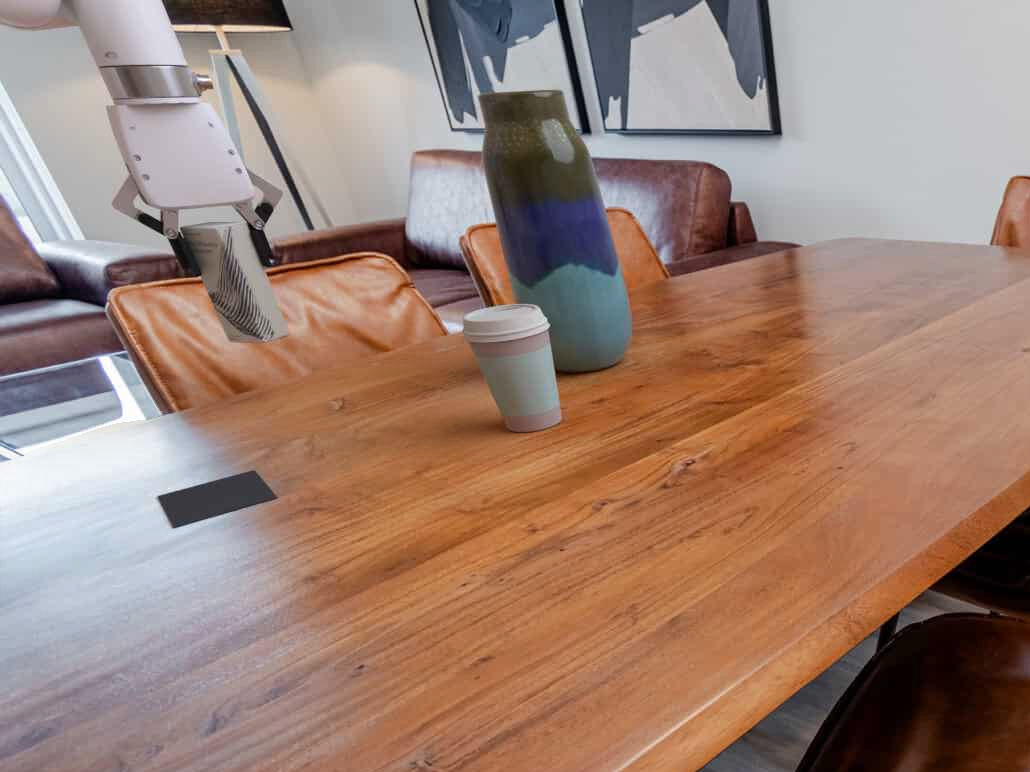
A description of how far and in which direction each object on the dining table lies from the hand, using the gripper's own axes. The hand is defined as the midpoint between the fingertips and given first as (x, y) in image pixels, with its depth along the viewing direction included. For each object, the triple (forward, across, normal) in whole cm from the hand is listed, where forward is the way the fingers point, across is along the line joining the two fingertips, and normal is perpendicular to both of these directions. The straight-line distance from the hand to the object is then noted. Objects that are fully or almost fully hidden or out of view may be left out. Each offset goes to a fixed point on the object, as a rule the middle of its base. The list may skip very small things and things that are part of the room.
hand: (231, 269), depth 95 cm
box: (+8, 0, 0) cm, 8 cm away
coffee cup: (+15, -17, +35) cm, 42 cm away
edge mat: (+16, +12, +30) cm, 36 cm away
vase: (+15, -32, +18) cm, 39 cm away
